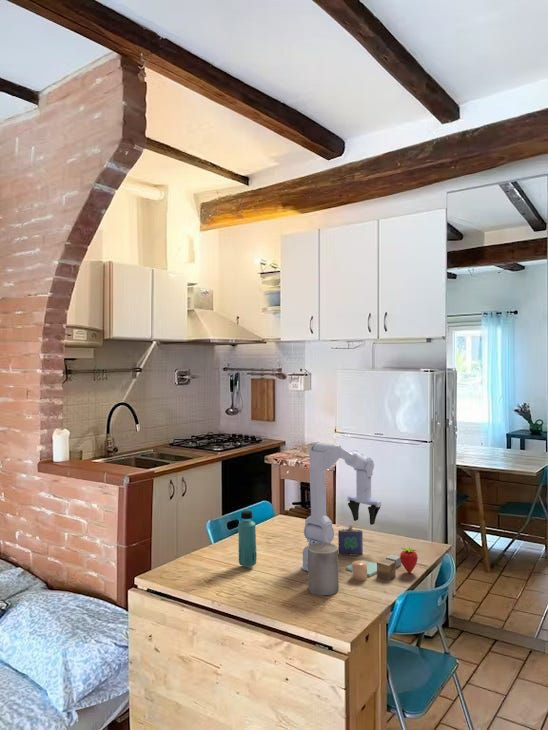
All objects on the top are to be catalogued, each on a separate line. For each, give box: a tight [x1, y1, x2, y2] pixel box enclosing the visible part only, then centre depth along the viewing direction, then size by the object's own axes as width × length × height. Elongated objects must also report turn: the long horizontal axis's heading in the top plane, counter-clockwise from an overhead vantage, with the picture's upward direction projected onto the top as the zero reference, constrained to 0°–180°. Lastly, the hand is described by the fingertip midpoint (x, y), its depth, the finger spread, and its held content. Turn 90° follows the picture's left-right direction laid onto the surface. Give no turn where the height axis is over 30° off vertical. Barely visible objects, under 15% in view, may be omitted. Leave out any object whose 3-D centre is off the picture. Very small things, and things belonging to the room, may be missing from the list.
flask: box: [337, 525, 364, 556], centre depth 213 cm, size 9×3×11 cm, turn 88°
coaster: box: [345, 559, 377, 578], centre depth 198 cm, size 10×10×1 cm
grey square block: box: [385, 554, 402, 568], centre depth 202 cm, size 4×4×3 cm
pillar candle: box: [307, 543, 340, 596], centre depth 180 cm, size 10×10×15 cm
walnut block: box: [376, 558, 397, 581], centre depth 191 cm, size 4×4×5 cm
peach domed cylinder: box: [351, 560, 368, 582], centre depth 190 cm, size 5×5×5 cm
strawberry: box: [399, 543, 419, 574], centre depth 194 cm, size 6×8×10 cm
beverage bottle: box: [237, 510, 257, 567], centre depth 200 cm, size 6×7×20 cm
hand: (364, 522), depth 220 cm, fingers open, 7 cm apart
